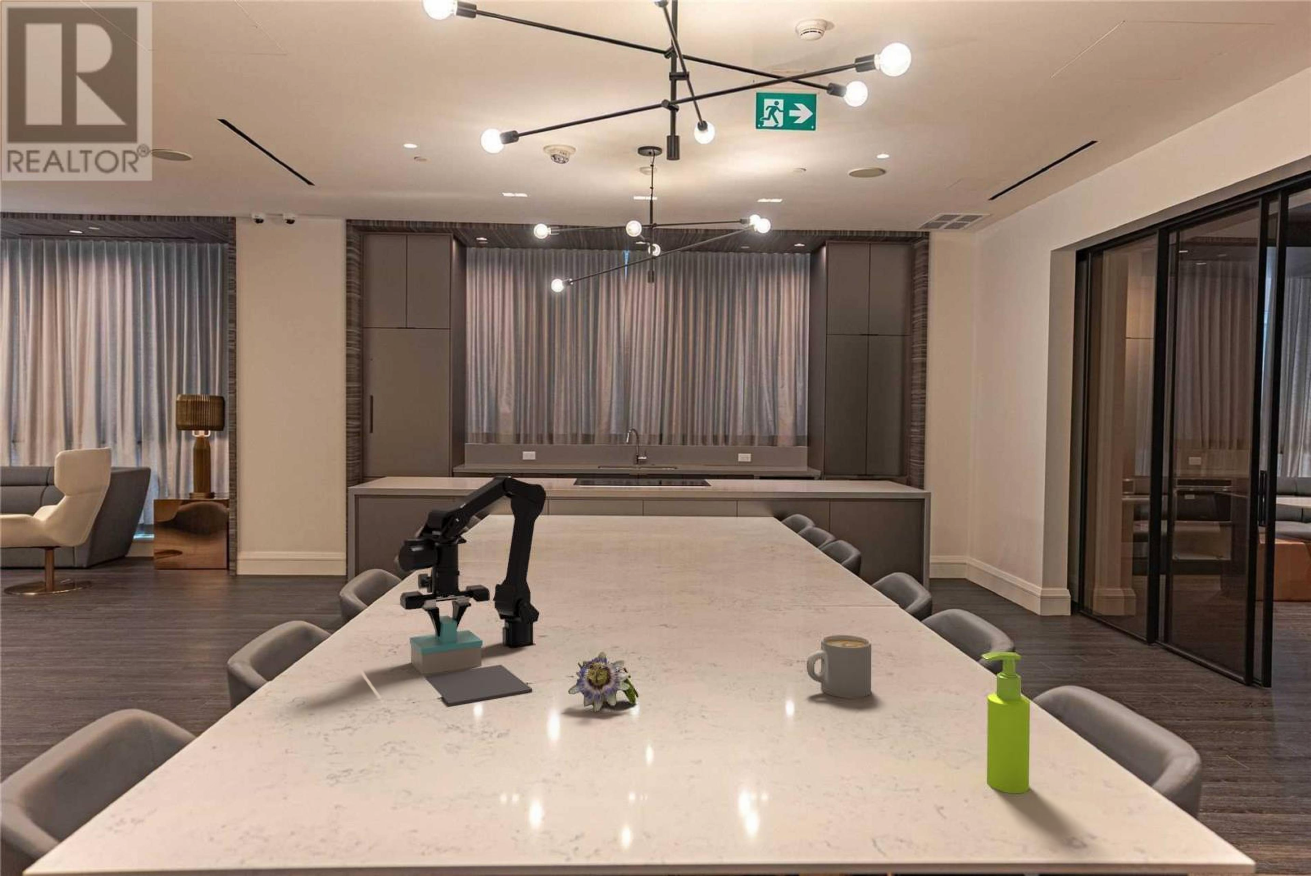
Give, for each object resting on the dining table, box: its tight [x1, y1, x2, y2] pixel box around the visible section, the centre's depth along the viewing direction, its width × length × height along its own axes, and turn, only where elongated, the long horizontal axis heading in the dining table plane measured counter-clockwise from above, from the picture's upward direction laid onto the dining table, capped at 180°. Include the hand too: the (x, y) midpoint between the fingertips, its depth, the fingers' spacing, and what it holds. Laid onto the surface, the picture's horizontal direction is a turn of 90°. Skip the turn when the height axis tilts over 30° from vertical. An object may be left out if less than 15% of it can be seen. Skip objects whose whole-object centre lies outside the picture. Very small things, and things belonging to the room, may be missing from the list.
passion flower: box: [567, 650, 640, 713], centre depth 163 cm, size 11×11×12 cm
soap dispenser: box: [980, 651, 1031, 794], centre depth 127 cm, size 6×7×20 cm
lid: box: [409, 615, 484, 654], centre depth 186 cm, size 13×10×6 cm
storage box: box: [410, 644, 482, 676], centre depth 187 cm, size 13×10×5 cm
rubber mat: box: [423, 664, 533, 707], centre depth 174 cm, size 17×19×1 cm
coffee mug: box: [806, 634, 872, 699], centre depth 171 cm, size 13×10×10 cm
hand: (445, 635), depth 186 cm, fingers closed on lid, 3 cm apart
